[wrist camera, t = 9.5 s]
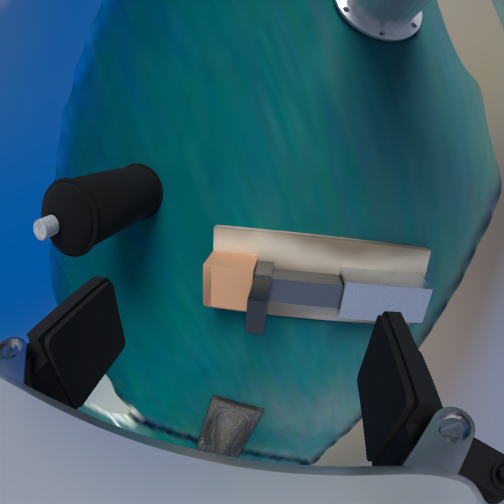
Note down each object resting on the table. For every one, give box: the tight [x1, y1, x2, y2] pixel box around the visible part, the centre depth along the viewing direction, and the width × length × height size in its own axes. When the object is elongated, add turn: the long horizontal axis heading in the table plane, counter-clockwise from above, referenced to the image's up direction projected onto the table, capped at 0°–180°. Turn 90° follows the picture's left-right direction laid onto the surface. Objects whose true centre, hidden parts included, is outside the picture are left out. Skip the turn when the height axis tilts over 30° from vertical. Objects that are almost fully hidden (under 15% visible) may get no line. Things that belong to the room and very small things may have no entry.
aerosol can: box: [34, 164, 162, 257], centre depth 31 cm, size 8×8×20 cm
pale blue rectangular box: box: [336, 266, 433, 323], centre depth 37 cm, size 5×12×5 cm, turn 86°
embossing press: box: [196, 395, 264, 458], centre depth 42 cm, size 11×24×30 cm, turn 162°
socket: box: [203, 251, 258, 311], centre depth 39 cm, size 6×6×5 cm
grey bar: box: [245, 261, 345, 335], centre depth 35 cm, size 4×16×10 cm, turn 86°
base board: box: [213, 225, 431, 325], centre depth 40 cm, size 12×30×2 cm, turn 86°
